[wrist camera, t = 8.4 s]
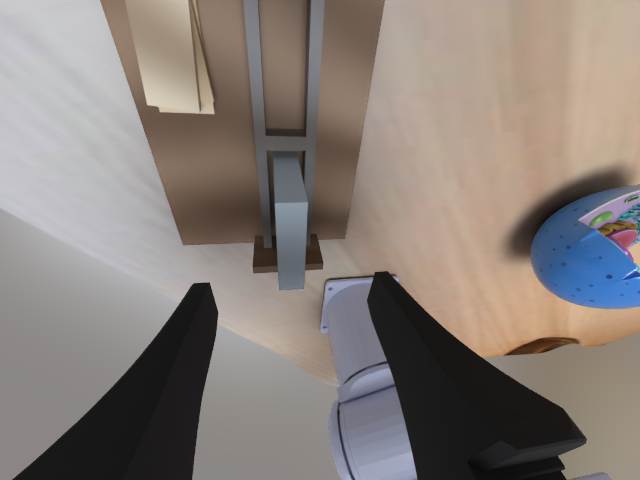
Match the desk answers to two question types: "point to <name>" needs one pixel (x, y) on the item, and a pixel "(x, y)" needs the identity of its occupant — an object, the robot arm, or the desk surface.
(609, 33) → the desk surface
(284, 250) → the slate board
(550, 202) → the desk surface
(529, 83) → the desk surface
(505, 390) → the robot arm
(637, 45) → the desk surface
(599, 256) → the cell model
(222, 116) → the board with sliding block
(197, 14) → the offcut stack
